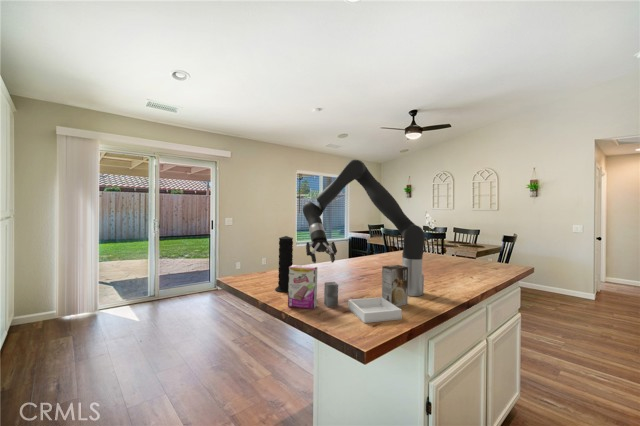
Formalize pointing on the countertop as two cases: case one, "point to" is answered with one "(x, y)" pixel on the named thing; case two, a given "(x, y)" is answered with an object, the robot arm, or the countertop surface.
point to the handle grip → (284, 263)
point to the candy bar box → (302, 286)
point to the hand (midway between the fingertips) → (324, 261)
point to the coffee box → (395, 284)
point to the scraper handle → (331, 294)
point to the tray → (374, 310)
